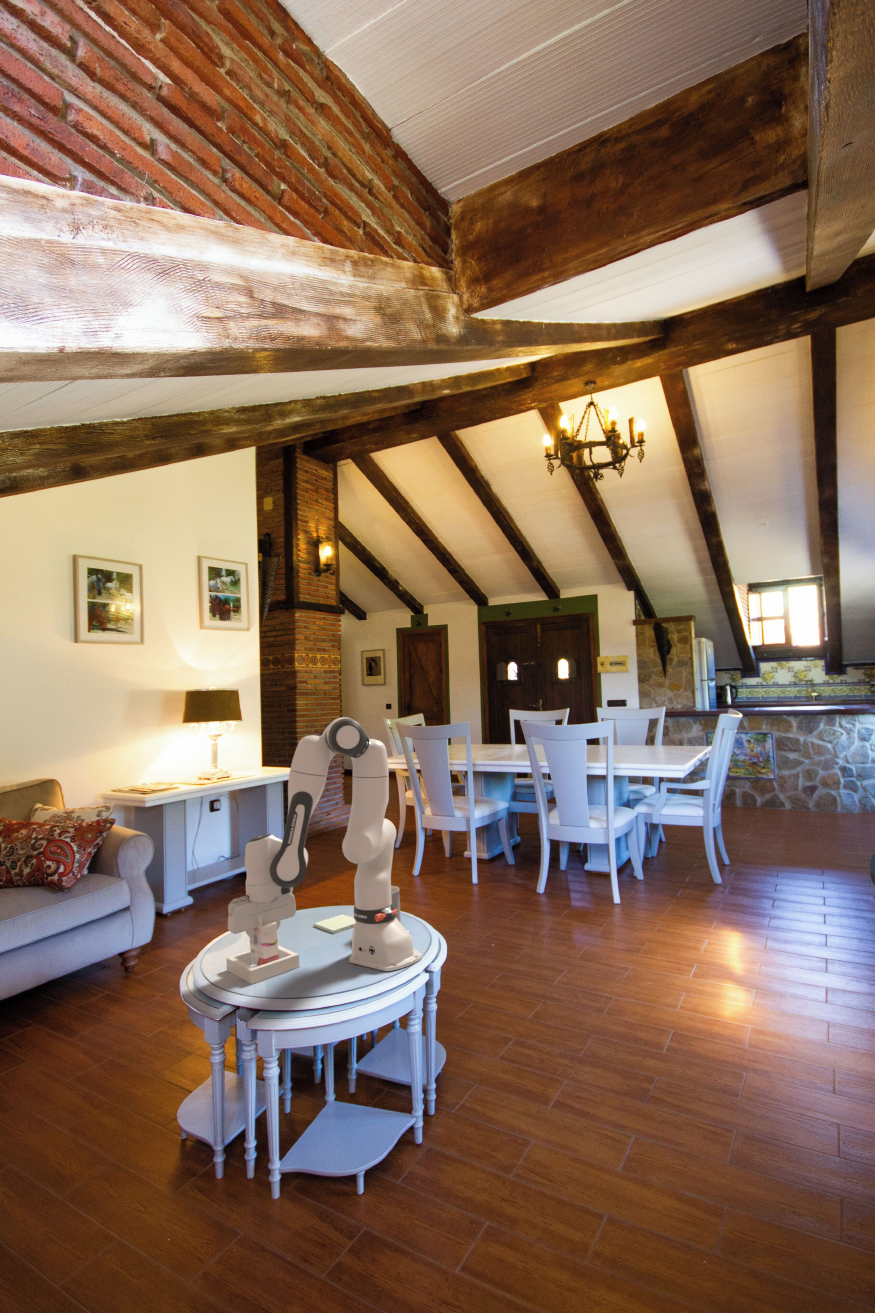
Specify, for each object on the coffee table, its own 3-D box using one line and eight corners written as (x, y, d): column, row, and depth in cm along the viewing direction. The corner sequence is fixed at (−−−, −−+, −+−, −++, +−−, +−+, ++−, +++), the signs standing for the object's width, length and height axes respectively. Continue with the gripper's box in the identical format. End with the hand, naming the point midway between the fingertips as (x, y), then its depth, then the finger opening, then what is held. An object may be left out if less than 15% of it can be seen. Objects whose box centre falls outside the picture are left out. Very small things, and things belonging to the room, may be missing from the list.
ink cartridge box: (280, 964, 187) (277, 912, 188) (264, 970, 183) (261, 916, 184) (265, 957, 193) (262, 906, 194) (250, 962, 190) (247, 911, 190)
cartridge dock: (299, 967, 188) (298, 954, 188) (251, 984, 178) (251, 971, 178) (273, 954, 199) (272, 943, 199) (226, 970, 188) (226, 957, 189)
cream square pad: (363, 924, 223) (362, 921, 223) (333, 933, 215) (333, 930, 215) (342, 917, 232) (342, 914, 232) (313, 926, 223) (313, 923, 223)
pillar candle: (366, 932, 214) (364, 886, 215) (389, 924, 220) (387, 879, 221) (384, 940, 207) (381, 891, 208) (407, 931, 213) (405, 884, 214)
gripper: (233, 902, 180) (234, 954, 179) (297, 885, 194) (299, 933, 193) (223, 898, 185) (224, 948, 184) (286, 882, 199) (288, 928, 198)
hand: (263, 940), depth 188 cm, fingers closed on ink cartridge box, 5 cm apart
